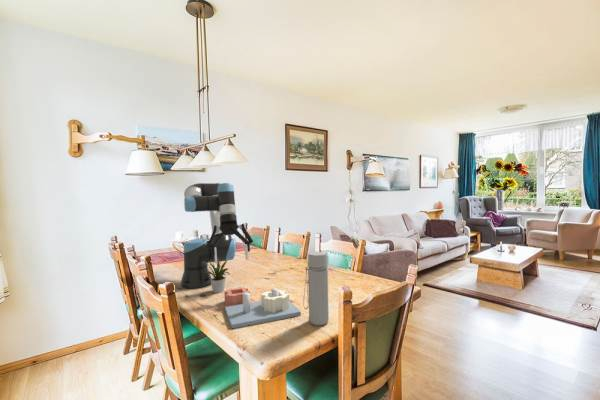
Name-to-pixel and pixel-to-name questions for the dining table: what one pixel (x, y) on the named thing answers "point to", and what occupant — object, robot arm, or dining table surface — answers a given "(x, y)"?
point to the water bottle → (317, 288)
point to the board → (262, 309)
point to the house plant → (218, 277)
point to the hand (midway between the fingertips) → (232, 261)
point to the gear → (235, 296)
